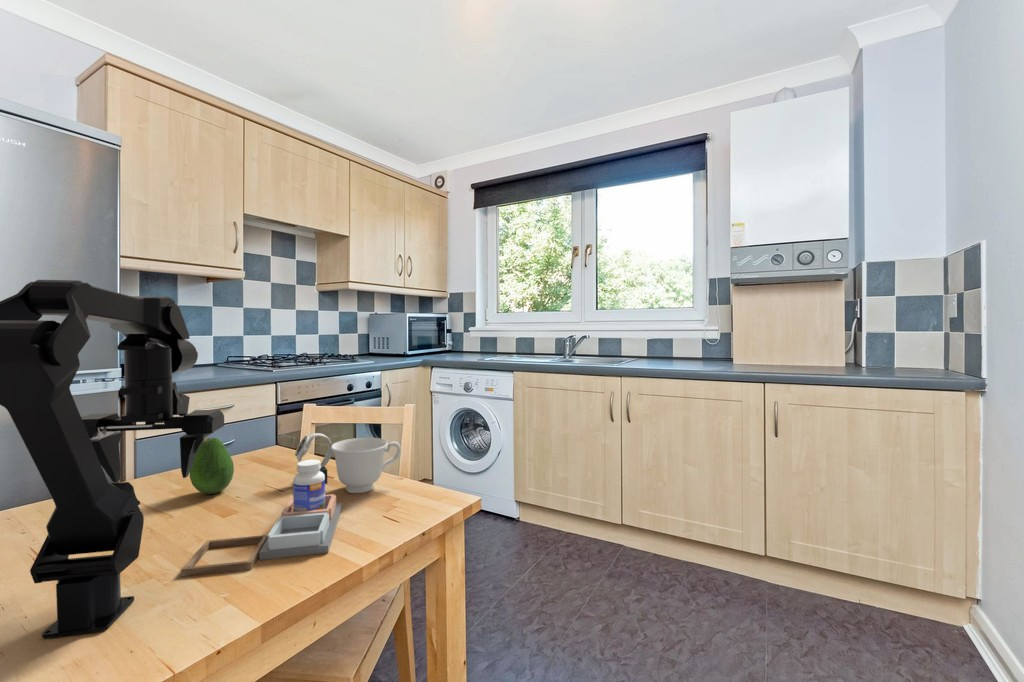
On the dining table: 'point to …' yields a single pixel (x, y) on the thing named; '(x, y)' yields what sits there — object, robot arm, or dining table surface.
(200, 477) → the fruit
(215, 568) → the tray
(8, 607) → the dining table surface
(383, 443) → the teacup
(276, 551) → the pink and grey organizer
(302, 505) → the pill bottle
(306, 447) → the watch
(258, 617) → the dining table surface
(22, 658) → the dining table surface
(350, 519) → the dining table surface
